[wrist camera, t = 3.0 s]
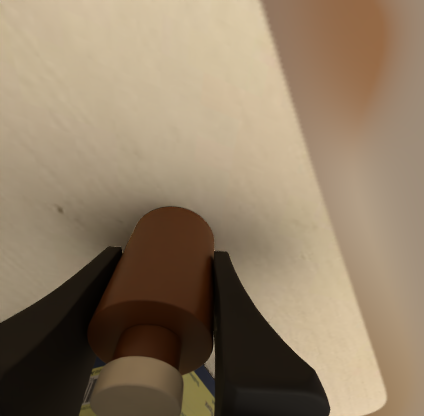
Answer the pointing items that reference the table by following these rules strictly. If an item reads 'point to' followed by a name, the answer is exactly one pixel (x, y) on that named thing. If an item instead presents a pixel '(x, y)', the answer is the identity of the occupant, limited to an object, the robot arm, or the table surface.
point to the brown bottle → (155, 316)
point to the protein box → (192, 393)
